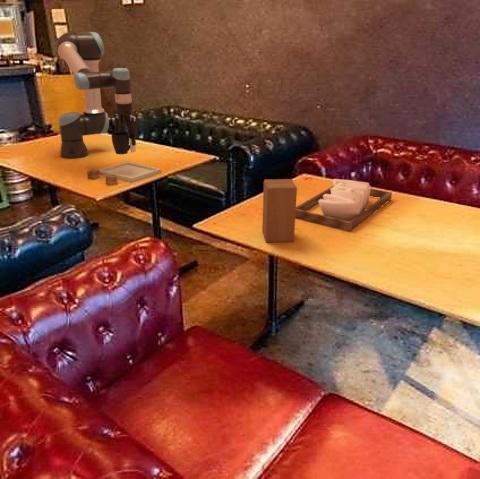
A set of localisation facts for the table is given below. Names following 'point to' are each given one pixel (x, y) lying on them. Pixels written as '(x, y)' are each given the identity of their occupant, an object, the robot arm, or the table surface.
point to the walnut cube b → (111, 179)
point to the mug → (121, 142)
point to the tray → (130, 171)
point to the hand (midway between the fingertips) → (128, 150)
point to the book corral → (338, 223)
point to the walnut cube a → (93, 174)
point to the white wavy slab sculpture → (345, 199)
